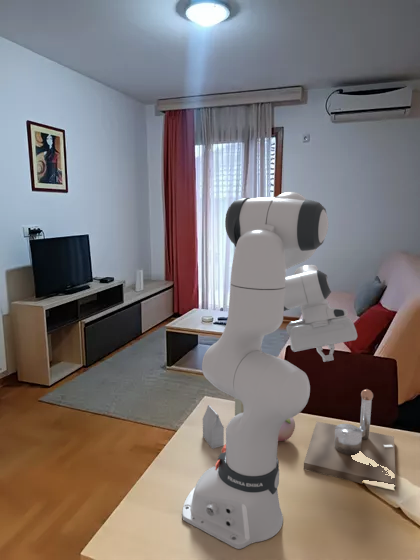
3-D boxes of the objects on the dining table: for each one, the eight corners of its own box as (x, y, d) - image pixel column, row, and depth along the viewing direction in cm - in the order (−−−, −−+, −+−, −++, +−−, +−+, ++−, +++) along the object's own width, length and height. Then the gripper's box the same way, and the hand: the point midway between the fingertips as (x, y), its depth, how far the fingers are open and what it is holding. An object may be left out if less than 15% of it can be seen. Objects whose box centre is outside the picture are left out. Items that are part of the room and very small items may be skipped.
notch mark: (384, 447, 113) (384, 446, 113) (383, 445, 114) (383, 444, 114) (393, 447, 113) (393, 446, 113) (391, 445, 114) (391, 444, 114)
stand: (303, 469, 107) (303, 462, 107) (316, 427, 127) (316, 421, 127) (395, 491, 99) (395, 484, 98) (393, 442, 119) (394, 436, 118)
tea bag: (212, 448, 117) (211, 416, 115) (202, 436, 123) (202, 405, 121) (223, 445, 118) (223, 413, 116) (214, 433, 124) (213, 403, 122)
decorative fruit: (301, 441, 120) (302, 409, 118) (283, 452, 115) (284, 419, 113) (275, 428, 127) (276, 398, 125) (258, 438, 121) (258, 407, 119)
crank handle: (351, 458, 108) (354, 407, 105) (329, 445, 114) (331, 397, 111) (378, 440, 116) (382, 392, 113) (356, 429, 121) (359, 384, 119)
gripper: (285, 321, 124) (296, 367, 121) (352, 308, 124) (364, 354, 121) (283, 324, 130) (293, 367, 127) (346, 311, 130) (358, 354, 127)
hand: (328, 361), depth 124 cm, fingers closed
